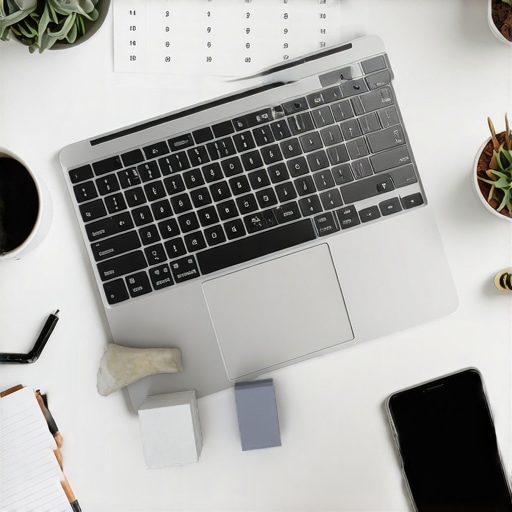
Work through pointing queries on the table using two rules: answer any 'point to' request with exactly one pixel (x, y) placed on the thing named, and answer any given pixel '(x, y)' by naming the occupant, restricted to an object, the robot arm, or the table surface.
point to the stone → (133, 365)
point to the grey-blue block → (257, 414)
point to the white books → (177, 397)
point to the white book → (168, 434)
